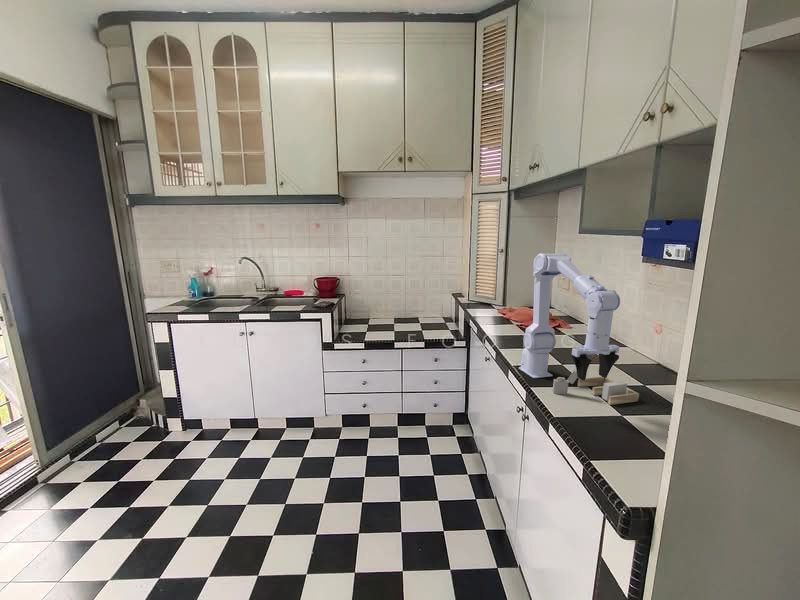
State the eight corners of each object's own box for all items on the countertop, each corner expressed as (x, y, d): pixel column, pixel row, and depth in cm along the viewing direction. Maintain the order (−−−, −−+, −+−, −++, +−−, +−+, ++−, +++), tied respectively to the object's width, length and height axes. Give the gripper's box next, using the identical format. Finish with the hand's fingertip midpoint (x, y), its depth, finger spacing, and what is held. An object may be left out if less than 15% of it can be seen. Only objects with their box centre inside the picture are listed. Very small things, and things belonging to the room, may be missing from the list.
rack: (577, 386, 117) (578, 379, 117) (603, 383, 120) (604, 376, 120) (609, 405, 105) (610, 397, 104) (637, 401, 108) (639, 393, 107)
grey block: (601, 397, 109) (603, 383, 108) (619, 395, 111) (621, 381, 110) (606, 400, 108) (609, 386, 107) (624, 398, 109) (627, 383, 108)
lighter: (553, 393, 112) (556, 370, 110) (552, 391, 113) (554, 368, 112) (577, 395, 111) (580, 372, 109) (575, 393, 112) (578, 370, 111)
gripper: (587, 338, 92) (581, 386, 95) (631, 335, 96) (624, 380, 99) (568, 331, 99) (563, 375, 101) (610, 328, 102) (603, 371, 105)
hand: (592, 377), depth 100 cm, fingers open, 7 cm apart
